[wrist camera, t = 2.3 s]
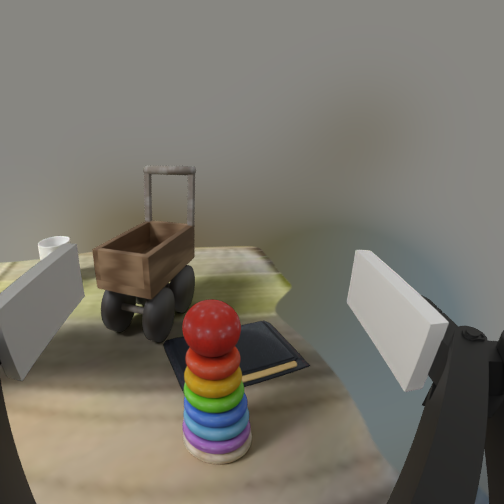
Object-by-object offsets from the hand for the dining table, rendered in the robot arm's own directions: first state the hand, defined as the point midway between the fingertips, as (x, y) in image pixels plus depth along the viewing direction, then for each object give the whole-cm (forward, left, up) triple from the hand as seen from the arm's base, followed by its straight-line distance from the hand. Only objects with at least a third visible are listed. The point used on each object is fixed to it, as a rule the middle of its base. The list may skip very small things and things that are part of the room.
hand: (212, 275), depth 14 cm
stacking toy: (-3, +10, -26) cm, 28 cm away
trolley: (-22, +33, -26) cm, 47 cm away
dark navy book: (-5, +27, -27) cm, 38 cm away
